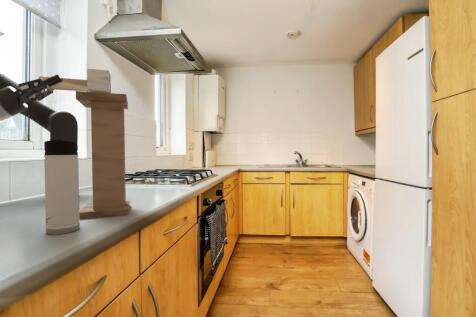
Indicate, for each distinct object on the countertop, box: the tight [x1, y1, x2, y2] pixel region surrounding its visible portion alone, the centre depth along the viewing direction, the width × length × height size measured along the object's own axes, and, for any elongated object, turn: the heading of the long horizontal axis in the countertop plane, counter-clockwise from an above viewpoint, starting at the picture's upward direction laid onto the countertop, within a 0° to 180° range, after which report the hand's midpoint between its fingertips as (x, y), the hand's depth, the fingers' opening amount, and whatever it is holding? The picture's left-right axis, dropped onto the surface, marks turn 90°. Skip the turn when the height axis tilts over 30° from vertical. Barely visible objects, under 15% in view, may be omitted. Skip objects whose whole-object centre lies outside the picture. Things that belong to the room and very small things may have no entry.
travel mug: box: [43, 139, 81, 236], centre depth 60 cm, size 6×7×20 cm
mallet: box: [38, 68, 112, 93], centre depth 86 cm, size 7×19×6 cm, turn 111°
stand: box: [75, 91, 131, 220], centre depth 79 cm, size 14×12×33 cm
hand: (61, 79), depth 84 cm, fingers closed on mallet, 3 cm apart
